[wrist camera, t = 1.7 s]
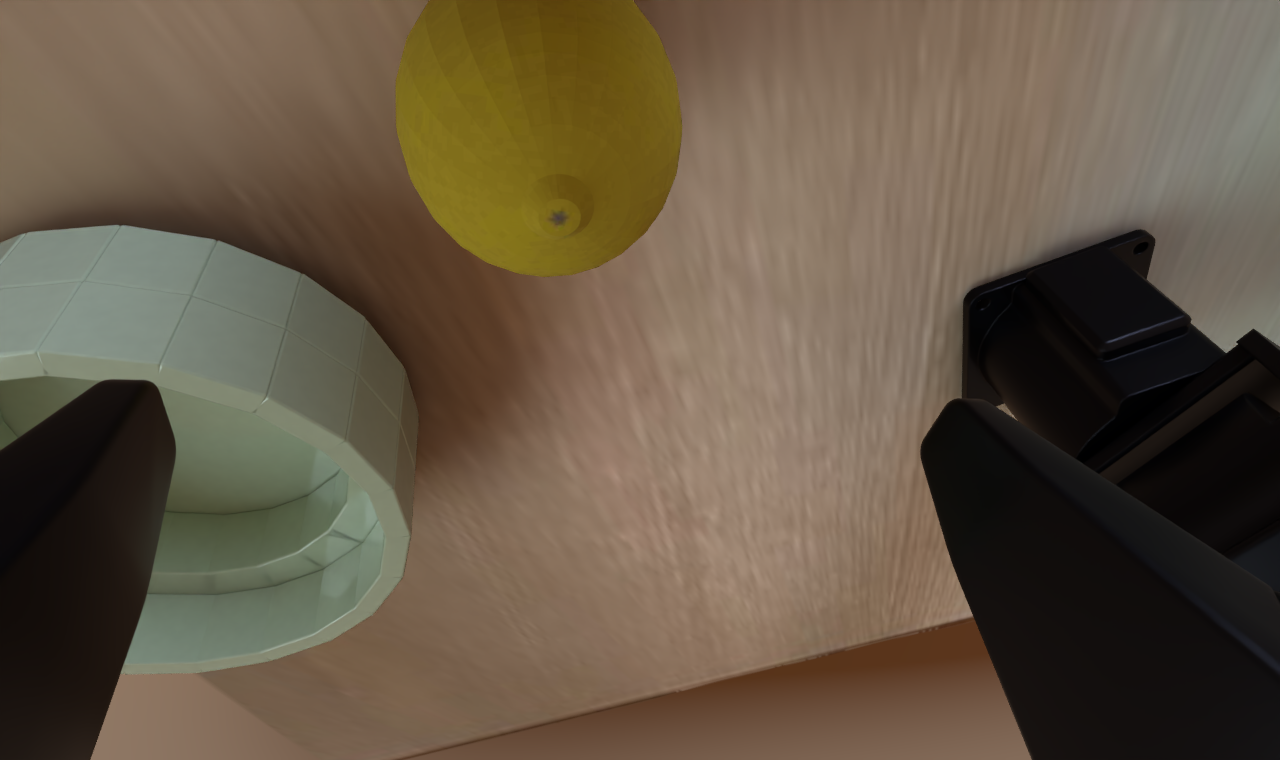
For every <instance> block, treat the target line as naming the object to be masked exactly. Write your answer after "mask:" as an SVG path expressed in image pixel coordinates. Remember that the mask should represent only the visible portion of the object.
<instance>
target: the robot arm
mask: <svg viewBox="0 0 1280 760" xmlns="http://www.w3.org/2000/svg"><path fill="white" fill-rule="evenodd" d="M1154 246H1155V238H1154V237H1153V236H1152V235H1150V234H1149V233H1148V232H1147V231H1145V230H1141V229H1140V230H1135V231H1132V232H1130V233H1127V234H1124V235H1121V236H1118V237H1116V238H1113V239H1110V240H1107V241H1104V242H1102V243H1099V244H1096V245H1093V246H1090V247H1088V248H1085V249H1082V250H1079V251H1076V252H1074V253H1071V254H1068V255H1065V256H1062V257H1060V258H1057V259H1054V260H1051V261H1048V262H1046V263H1043V264H1040V265H1037V266H1034V267H1032V268H1029V269H1026V270H1023V271H1020V272H1018V273H1015V274H1012V275H1009V276H1006V277H1004V278H1001V279H998V280H995V281H992V282H990V283H987V284H984V285H981V286H979V287H976V288H974V289H972V290H971V291H970V292H969V293H967V295H966V296H965V298H964V301H963V357H962V398H957V399H953V400H952V401H950V402H948V403H947V404H946V406H945V407H944V409H943V410H942V412H941V413H940V415H939V416H938V418H937V419H936V421H935V422H934V424H933V425H932V427H931V428H930V430H929V431H928V433H927V435H926V436H925V438H924V439H923V441H922V444H921V450H920V455H921V461H922V465H923V468H924V471H925V475H926V478H927V481H928V485H929V488H930V492H931V495H932V498H933V502H934V505H935V508H936V512H937V515H938V519H939V522H940V525H941V529H942V532H943V535H944V539H945V542H946V546H947V549H948V552H949V555H950V558H951V561H952V564H953V567H954V569H955V572H956V574H957V577H958V580H959V582H960V585H961V587H962V590H963V592H964V594H965V597H966V599H967V602H968V604H969V607H970V609H971V612H972V614H973V616H974V619H975V621H976V624H977V626H978V629H979V631H980V634H981V636H982V638H983V641H984V643H985V646H986V648H987V651H988V653H989V656H990V658H991V660H992V663H993V665H994V668H995V670H996V673H997V675H998V678H999V680H1000V683H1001V685H1002V688H1003V690H1004V692H1005V695H1006V697H1007V700H1008V702H1009V705H1010V707H1011V710H1012V712H1013V714H1014V717H1015V719H1016V722H1017V724H1018V727H1019V729H1020V731H1021V734H1022V737H1023V739H1024V741H1025V744H1026V746H1027V749H1028V751H1029V753H1030V756H1031V759H1032V760H1280V347H1279V346H1278V345H1276V344H1275V343H1274V342H1272V341H1271V340H1269V339H1268V338H1266V337H1265V336H1263V335H1262V334H1261V333H1259V332H1258V331H1256V330H1255V329H1252V330H1251V331H1250V332H1248V333H1247V334H1246V335H1244V336H1243V337H1242V338H1240V339H1239V340H1238V341H1237V343H1238V345H1237V346H1236V347H1234V348H1233V349H1232V350H1230V351H1229V352H1228V353H1225V352H1224V351H1223V350H1222V349H1221V348H1219V347H1218V346H1217V345H1216V344H1215V343H1214V342H1212V341H1211V340H1210V339H1209V338H1208V337H1206V336H1205V335H1204V334H1203V333H1202V332H1201V331H1199V330H1198V329H1197V328H1196V327H1195V326H1194V325H1192V324H1191V318H1190V316H1189V315H1188V314H1187V313H1186V312H1184V311H1183V310H1182V309H1181V308H1180V307H1178V306H1177V305H1176V304H1175V303H1174V302H1172V301H1171V300H1170V299H1169V298H1168V297H1167V296H1165V295H1164V294H1163V293H1162V292H1161V291H1159V290H1158V289H1157V288H1156V287H1155V286H1153V285H1152V284H1151V283H1150V282H1149V281H1147V280H1146V279H1147V275H1148V271H1149V267H1150V263H1151V258H1152V254H1153V250H1154ZM980 300H981V301H980ZM1004 403H1005V405H1006V406H1007V407H1008V409H1009V410H1010V411H1011V413H1012V414H1013V415H1014V416H1015V418H1016V419H1017V420H1018V421H1017V420H1015V419H1014V418H1012V417H1011V416H1009V415H1008V414H1006V413H1005V412H1003V411H1001V410H1000V409H998V408H997V407H996V406H999V405H1001V404H1004ZM175 460H176V441H175V437H174V433H173V430H172V427H171V424H170V421H169V418H168V415H167V412H166V409H165V406H164V403H163V400H162V397H161V394H160V391H159V389H158V387H157V386H156V385H155V384H154V383H153V382H151V381H148V380H126V379H109V380H103V381H101V382H99V383H97V384H95V385H94V386H92V387H91V388H89V389H88V390H86V391H85V392H83V393H82V394H81V395H79V396H78V397H76V398H75V399H73V400H72V401H71V402H69V403H68V404H66V405H65V406H63V407H62V408H60V409H59V410H58V411H56V412H55V413H53V414H52V415H50V416H49V417H47V418H46V419H45V420H43V421H42V422H40V423H39V424H37V425H36V426H34V427H33V428H32V429H30V430H29V431H27V432H26V433H24V434H23V435H22V436H20V437H19V438H17V439H16V440H14V441H13V442H11V443H10V444H9V445H7V446H6V447H4V448H3V449H1V450H0V760H90V759H91V756H92V753H93V750H94V747H95V745H96V742H97V739H98V736H99V733H100V730H101V727H102V725H103V722H104V719H105V716H106V713H107V711H108V708H109V705H110V702H111V699H112V696H113V693H114V690H115V688H116V685H117V682H118V679H119V676H120V674H121V671H122V668H123V665H124V662H125V659H126V656H127V654H128V651H129V648H130V645H131V642H132V639H133V636H134V634H135V631H136V628H137V625H138V622H139V619H140V616H141V613H142V609H143V606H144V603H145V600H146V596H147V591H148V587H149V583H150V579H151V574H152V570H153V565H154V560H155V555H156V551H157V546H158V541H159V536H160V532H161V527H162V522H163V517H164V513H165V508H166V503H167V499H168V494H169V489H170V484H171V480H172V475H173V470H174V465H175Z"/></svg>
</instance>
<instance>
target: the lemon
mask: <svg viewBox="0 0 1280 760" xmlns="http://www.w3.org/2000/svg"><path fill="white" fill-rule="evenodd" d="M396 128H397V134H398V138H399V141H400V145H401V148H402V152H403V156H404V159H405V163H406V166H407V170H408V173H409V176H410V178H411V181H412V183H413V185H414V186H415V188H416V190H417V191H418V193H419V195H420V196H421V198H422V200H423V202H424V203H425V205H426V207H427V208H428V210H429V212H430V213H431V215H432V216H433V218H434V219H435V220H436V221H437V222H438V223H439V224H440V226H441V227H442V228H443V229H444V230H445V231H446V232H447V233H448V234H449V235H450V236H451V237H452V238H453V239H454V240H455V241H456V242H457V243H458V244H459V245H460V246H461V247H463V248H464V249H466V250H468V251H469V252H471V253H472V254H474V255H476V256H477V257H479V258H480V259H482V260H483V261H485V262H487V263H489V264H492V265H495V266H498V267H501V268H504V269H506V270H509V271H512V272H515V273H518V274H525V275H533V276H541V277H551V276H563V275H573V274H576V273H580V272H583V271H586V270H590V269H593V268H596V267H599V266H601V265H602V264H604V263H606V262H608V261H610V260H611V259H613V258H615V257H617V256H619V255H620V254H622V253H623V252H624V251H625V250H626V249H628V248H629V247H630V246H631V245H632V244H633V243H634V242H636V241H637V240H638V239H639V238H640V237H641V236H642V235H643V234H645V233H646V231H647V230H648V229H649V227H650V226H651V224H652V223H653V222H654V220H655V219H656V217H657V216H658V214H659V213H660V212H661V210H662V209H663V206H664V204H665V202H666V199H667V197H668V194H669V192H670V189H671V186H672V184H673V181H674V179H675V176H676V173H677V167H678V160H679V152H680V145H681V137H682V119H681V111H680V103H679V95H678V88H677V82H676V77H675V74H674V72H673V69H672V67H671V65H670V62H669V60H668V57H667V55H666V52H665V50H664V47H663V45H662V42H661V40H660V38H659V35H658V34H657V32H656V31H655V30H654V28H653V27H652V25H651V24H650V23H649V21H648V20H647V19H646V17H645V16H644V15H643V13H642V12H641V11H640V9H639V8H638V7H637V5H636V4H635V3H634V1H633V0H430V1H429V2H428V3H427V5H426V7H425V8H424V10H423V12H422V13H421V15H420V17H419V18H418V20H417V22H416V23H415V25H414V27H413V28H412V30H411V32H410V33H409V35H408V37H407V40H406V43H405V47H404V51H403V55H402V59H401V62H400V66H399V70H398V74H397V78H396Z"/></svg>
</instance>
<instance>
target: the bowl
mask: <svg viewBox="0 0 1280 760" xmlns="http://www.w3.org/2000/svg"><path fill="white" fill-rule="evenodd" d="M109 379H126V380H148V381H151V382H153V383H154V384H155V385H156V386H157V387H158V389H159V391H160V394H161V397H162V400H163V403H164V406H165V409H166V412H167V415H168V418H169V421H170V424H171V427H172V430H173V433H174V437H175V441H176V460H175V465H174V470H173V475H172V480H171V484H170V489H169V494H168V499H167V503H166V508H165V513H164V517H163V522H162V527H161V532H160V536H159V541H158V546H157V551H156V555H155V560H154V565H153V570H152V574H151V579H150V583H149V587H148V591H147V596H146V600H145V603H144V606H143V609H142V613H141V616H140V619H139V622H138V625H137V628H136V631H135V634H134V636H133V639H132V642H131V645H130V648H129V651H128V654H127V656H126V659H125V662H124V665H123V668H122V671H121V674H124V673H125V674H171V673H201V672H208V671H215V670H221V669H227V668H233V667H239V666H246V665H252V664H258V663H264V662H269V661H270V660H276V659H279V658H282V657H285V656H288V655H291V654H294V653H297V652H299V651H302V650H305V649H308V648H311V647H314V646H317V645H320V644H323V643H326V642H328V641H331V640H333V639H335V638H336V637H338V636H339V635H341V634H343V633H344V632H346V631H347V630H349V629H351V628H352V627H354V626H356V625H357V624H359V623H360V622H362V621H364V620H365V619H367V618H368V617H370V616H372V615H373V614H374V613H375V612H376V611H377V610H378V608H379V607H380V606H381V605H382V603H383V602H384V601H385V600H386V598H387V597H388V596H389V595H390V593H391V592H392V591H393V590H394V588H395V587H396V586H397V585H398V583H399V582H400V581H401V580H402V578H403V576H404V572H405V567H406V561H407V556H408V551H409V545H410V540H411V532H412V517H413V501H414V485H415V470H416V454H417V438H418V423H419V416H418V415H419V413H418V410H417V407H416V403H415V400H414V397H413V393H412V390H411V387H410V383H409V380H408V377H407V373H406V370H405V368H404V367H403V365H402V364H401V362H400V361H399V360H398V358H397V357H396V356H395V355H394V353H393V352H392V351H391V350H390V348H389V347H388V346H387V345H386V343H385V342H384V341H383V339H382V338H381V337H380V336H379V334H378V333H377V332H376V331H375V329H374V328H373V327H372V325H371V324H370V323H369V322H368V320H366V318H365V317H364V316H363V315H362V314H360V313H359V312H357V311H356V310H354V309H353V308H352V307H350V306H349V305H347V304H346V303H345V302H343V301H342V300H340V299H339V298H337V297H336V296H335V295H333V294H332V293H330V292H329V291H327V290H326V289H325V288H323V287H322V286H320V285H319V284H318V283H316V282H315V281H313V280H312V279H310V278H309V277H308V276H306V275H305V274H301V273H300V272H298V271H295V270H293V269H290V268H288V267H285V266H283V265H280V264H278V263H275V262H273V261H270V260H268V259H265V258H263V257H260V256H257V255H255V254H252V253H250V252H247V251H245V250H242V249H240V248H237V247H235V246H232V245H230V244H227V243H225V242H222V241H217V242H216V240H215V239H210V238H203V237H197V236H191V235H184V234H178V233H172V232H165V231H159V230H153V229H146V228H140V227H134V226H127V225H121V226H120V225H106V226H94V227H82V228H70V229H58V230H46V231H34V232H28V233H25V234H20V235H18V236H16V237H13V238H11V239H8V240H6V241H3V242H1V243H0V450H1V449H3V448H4V447H6V446H7V445H9V444H10V443H11V442H13V441H14V440H16V439H17V438H19V437H20V436H22V435H23V434H24V433H26V432H27V431H29V430H30V429H32V428H33V427H34V426H36V425H37V424H39V423H40V422H42V421H43V420H45V419H46V418H47V417H49V416H50V415H52V414H53V413H55V412H56V411H58V410H59V409H60V408H62V407H63V406H65V405H66V404H68V403H69V402H71V401H72V400H73V399H75V398H76V397H78V396H79V395H81V394H82V393H83V392H85V391H86V390H88V389H89V388H91V387H92V386H94V385H95V384H97V383H99V382H101V381H103V380H109Z"/></svg>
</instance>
